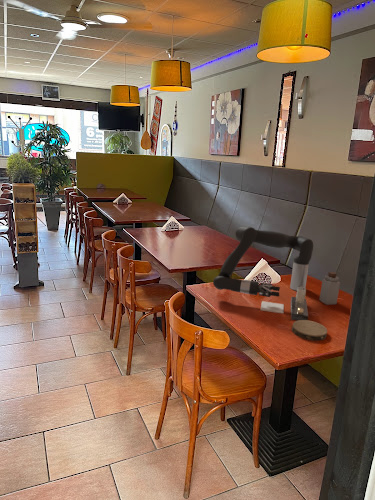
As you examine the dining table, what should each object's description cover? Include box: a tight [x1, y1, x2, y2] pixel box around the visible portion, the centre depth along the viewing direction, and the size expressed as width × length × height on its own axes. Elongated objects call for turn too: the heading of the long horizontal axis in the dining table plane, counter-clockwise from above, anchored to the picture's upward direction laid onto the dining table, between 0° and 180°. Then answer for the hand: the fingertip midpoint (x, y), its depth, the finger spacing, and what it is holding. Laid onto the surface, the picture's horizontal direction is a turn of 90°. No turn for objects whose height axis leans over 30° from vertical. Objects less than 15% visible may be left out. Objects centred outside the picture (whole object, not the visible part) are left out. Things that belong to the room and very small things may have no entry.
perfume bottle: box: [319, 271, 341, 306], centre depth 214 cm, size 7×7×18 cm
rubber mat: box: [260, 300, 285, 314], centre depth 204 cm, size 12×12×1 cm
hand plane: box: [290, 293, 309, 321], centre depth 200 cm, size 24×8×6 cm, turn 165°
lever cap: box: [295, 286, 307, 308], centre depth 198 cm, size 5×4×10 cm
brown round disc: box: [291, 320, 328, 342], centre depth 177 cm, size 16×16×3 cm
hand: (279, 291), depth 200 cm, fingers open, 8 cm apart
